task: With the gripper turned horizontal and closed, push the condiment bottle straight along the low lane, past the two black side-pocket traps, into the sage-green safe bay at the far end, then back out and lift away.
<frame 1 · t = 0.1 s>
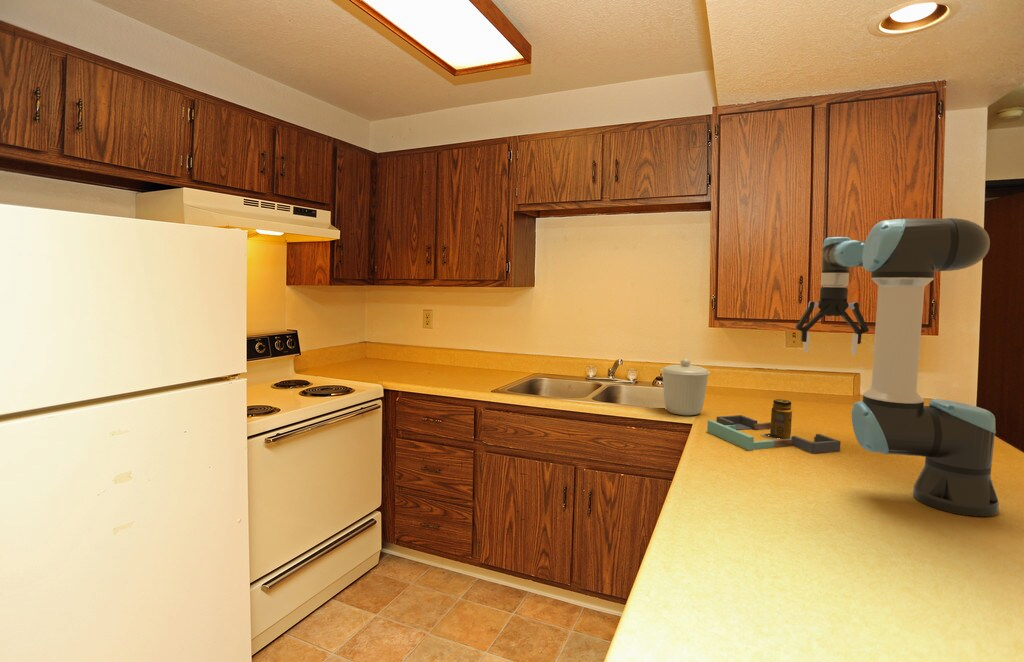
hand: (829, 353, 171), 28 cm above the worktop, tool pointing down, fingers open, 13 cm apart
lane: (767, 437, 174), on the worktop
safe bay: (739, 433, 171), on the worktop
trap pits: (767, 437, 174), on the worktop
canister: (683, 413, 207), on the worktop
condiment: (778, 437, 175), on the worktop
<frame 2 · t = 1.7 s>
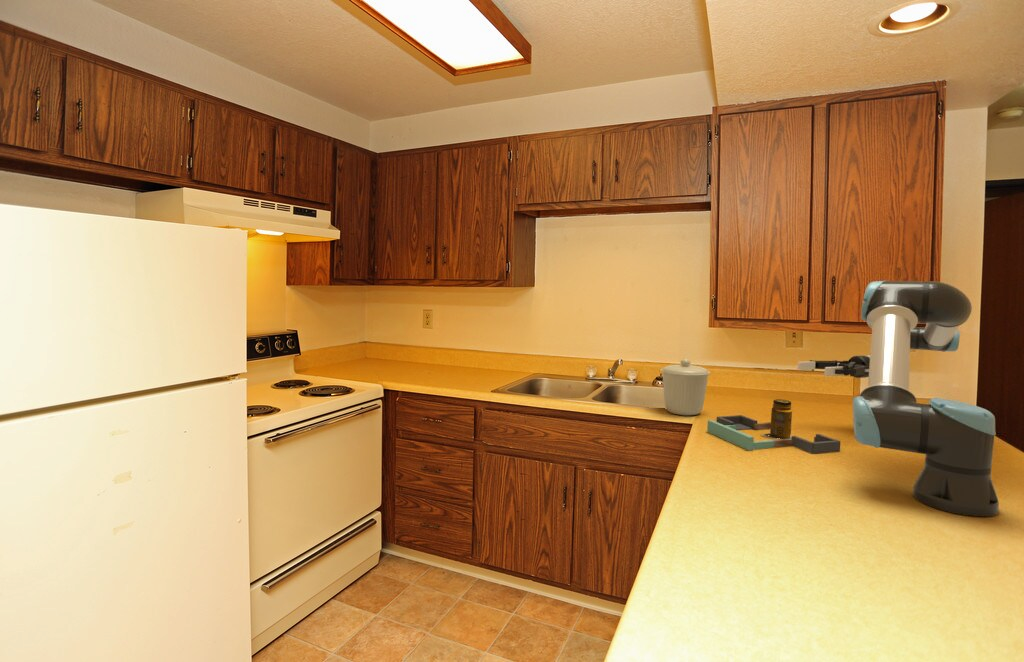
hand: (811, 368, 176), 22 cm above the worktop, tool horizontal, fingers open, 10 cm apart
nothing on the worktop moved.
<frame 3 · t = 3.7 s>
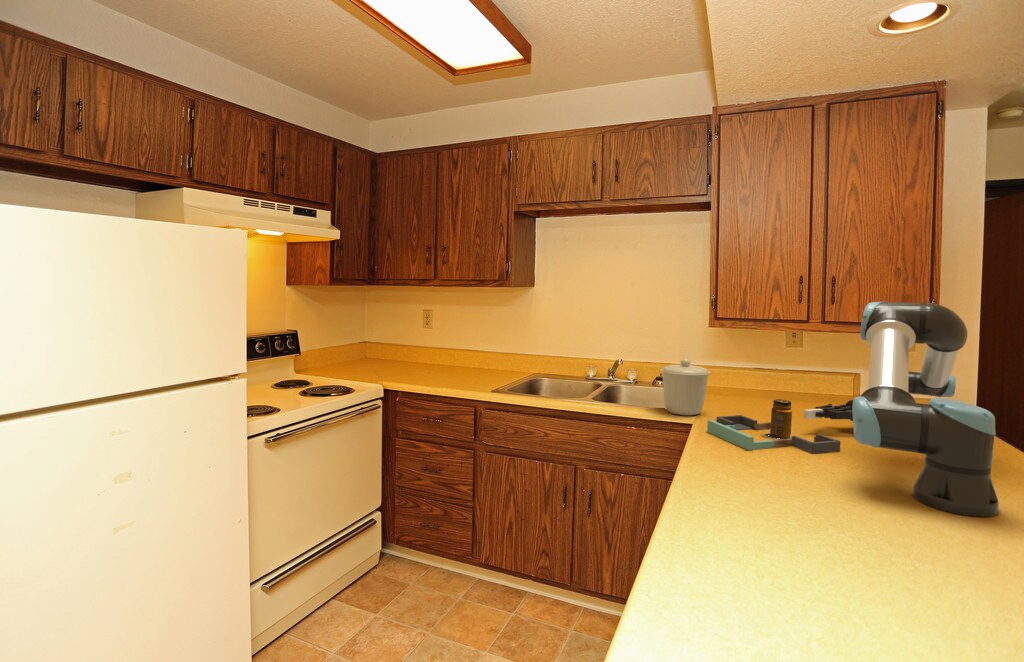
hand: (805, 414, 178), 7 cm above the worktop, tool horizontal, fingers closed
nothing on the worktop moved.
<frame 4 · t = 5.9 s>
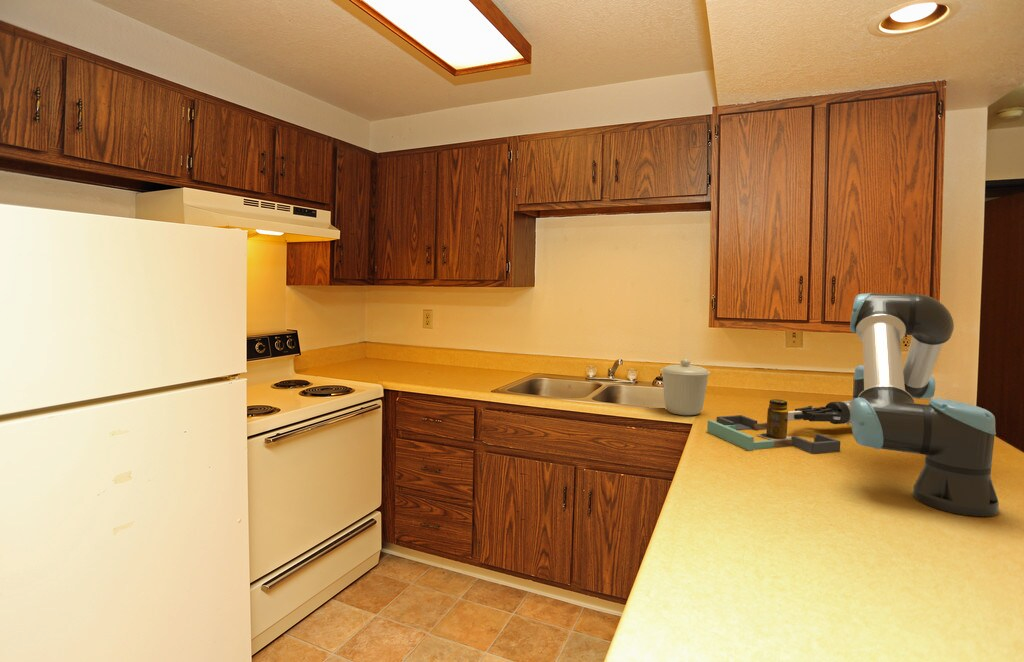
hand: (784, 416, 176), 6 cm above the worktop, tool horizontal, fingers closed
condiment: (774, 437, 175), on the worktop
everything else where it was.
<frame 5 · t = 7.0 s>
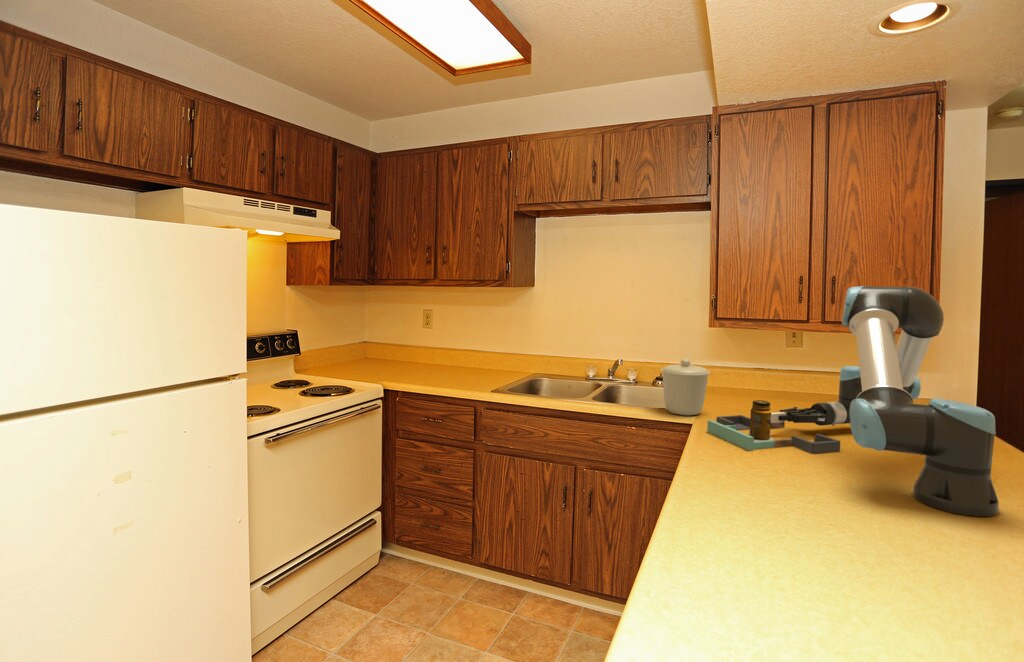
hand: (768, 417, 175), 6 cm above the worktop, tool horizontal, fingers closed
condiment: (757, 438, 174), on the worktop, touching gripper
everything else where it was.
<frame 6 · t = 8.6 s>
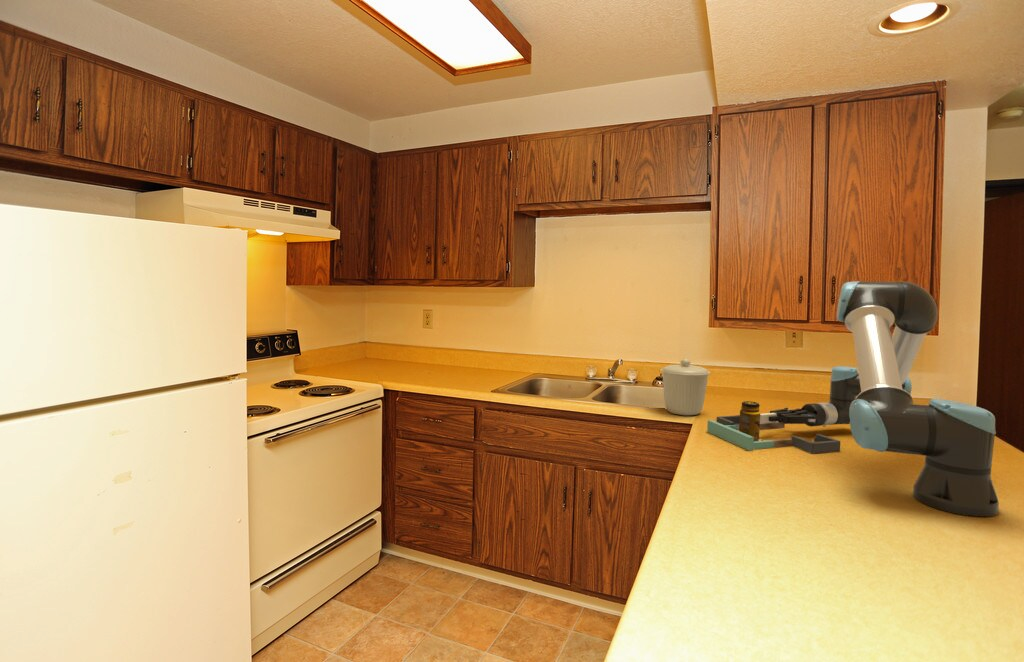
hand: (758, 418, 173), 7 cm above the worktop, tool horizontal, fingers closed
condiment: (746, 439, 172), on the worktop
everything else where it was.
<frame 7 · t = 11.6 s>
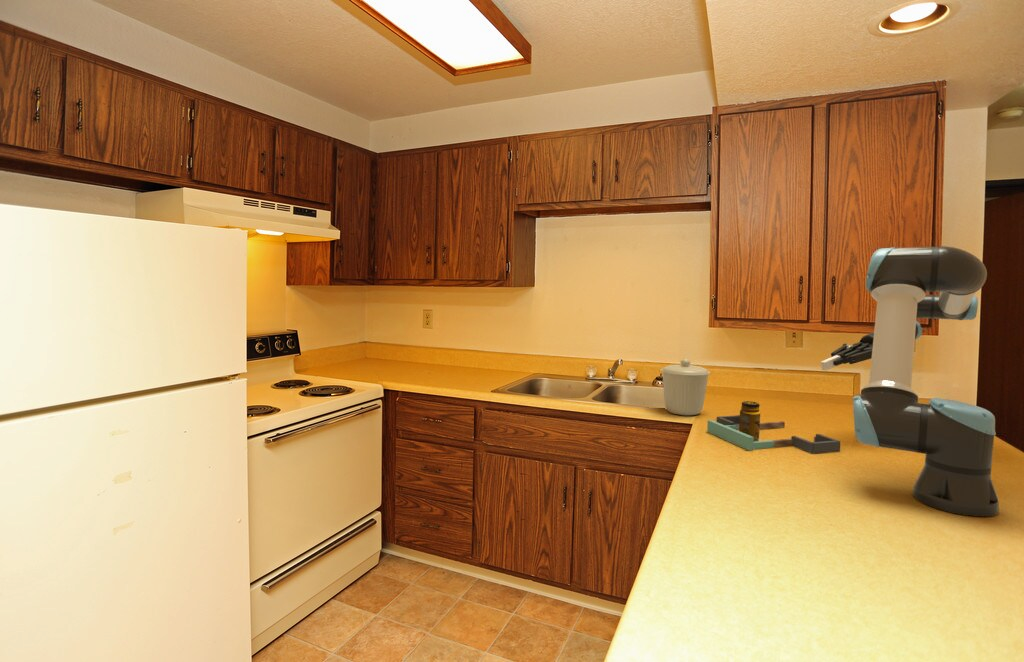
hand: (823, 366, 168), 24 cm above the worktop, tool tilted 75°, fingers closed
nothing on the worktop moved.
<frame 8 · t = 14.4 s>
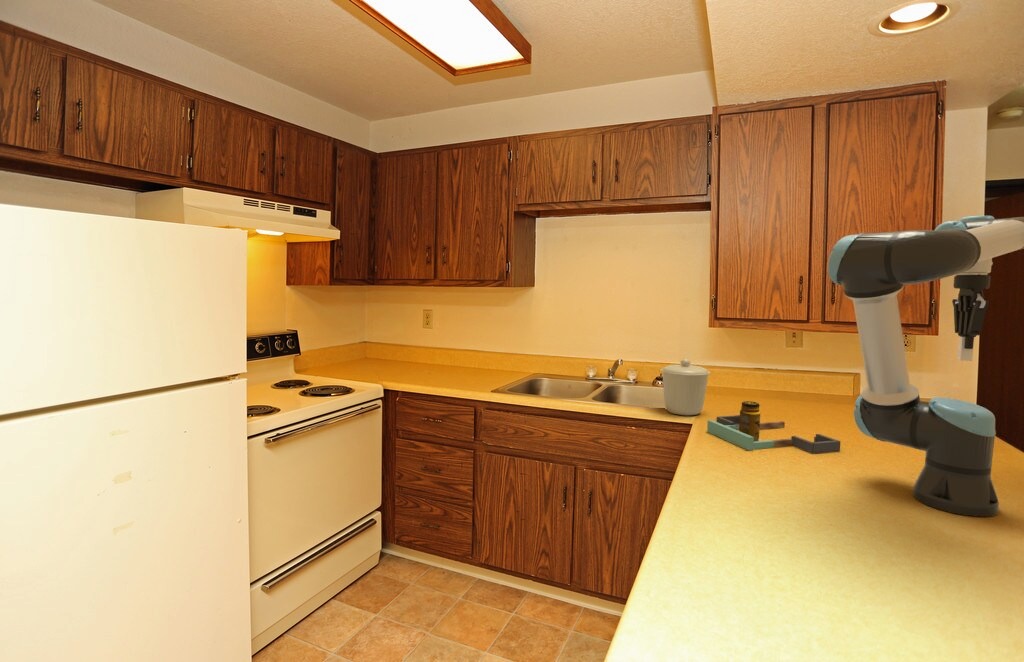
hand: (964, 360, 147), 29 cm above the worktop, tool pointing down, fingers closed
nothing on the worktop moved.
at the end: condiment inside the target area (0.4 cm from its centre), on the worktop; condiment tilted 0°; the gripper is holding nothing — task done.
